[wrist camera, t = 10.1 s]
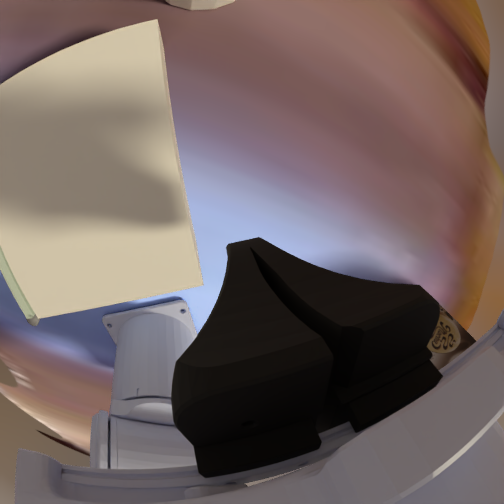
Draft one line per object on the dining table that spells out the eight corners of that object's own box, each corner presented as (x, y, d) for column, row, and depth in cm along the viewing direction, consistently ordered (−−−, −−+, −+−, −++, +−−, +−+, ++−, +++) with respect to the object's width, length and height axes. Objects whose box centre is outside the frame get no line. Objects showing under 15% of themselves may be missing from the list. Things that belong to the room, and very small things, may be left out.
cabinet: (195, 238, 20) (203, 285, 15) (63, 270, 18) (38, 318, 13) (163, 49, 13) (157, 19, 8) (16, 104, 11) (-33, 109, 6)
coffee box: (422, 285, 31) (500, 363, 17) (408, 320, 34) (473, 396, 21) (373, 301, 29) (457, 403, 15) (361, 339, 32) (427, 433, 19)
